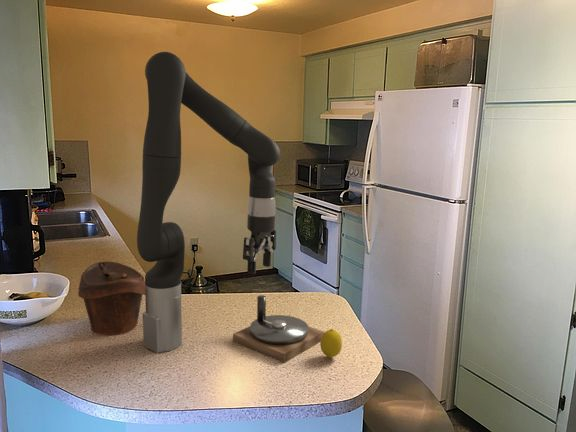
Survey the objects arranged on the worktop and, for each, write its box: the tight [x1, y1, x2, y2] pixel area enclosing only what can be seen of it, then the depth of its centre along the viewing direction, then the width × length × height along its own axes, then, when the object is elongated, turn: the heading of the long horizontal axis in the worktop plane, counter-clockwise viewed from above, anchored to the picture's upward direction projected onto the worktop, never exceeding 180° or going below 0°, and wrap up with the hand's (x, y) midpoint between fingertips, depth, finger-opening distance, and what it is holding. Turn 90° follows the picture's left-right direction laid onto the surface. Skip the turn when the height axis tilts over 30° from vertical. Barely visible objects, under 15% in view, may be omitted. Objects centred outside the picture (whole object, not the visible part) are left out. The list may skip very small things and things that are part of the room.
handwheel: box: [249, 294, 309, 344], centre depth 133 cm, size 16×16×9 cm
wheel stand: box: [232, 325, 325, 364], centre depth 134 cm, size 18×18×3 cm
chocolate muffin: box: [77, 261, 145, 336], centre depth 139 cm, size 18×20×18 cm
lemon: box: [319, 328, 343, 359], centre depth 125 cm, size 6×6×8 cm
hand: (259, 269), depth 135 cm, fingers open, 8 cm apart
